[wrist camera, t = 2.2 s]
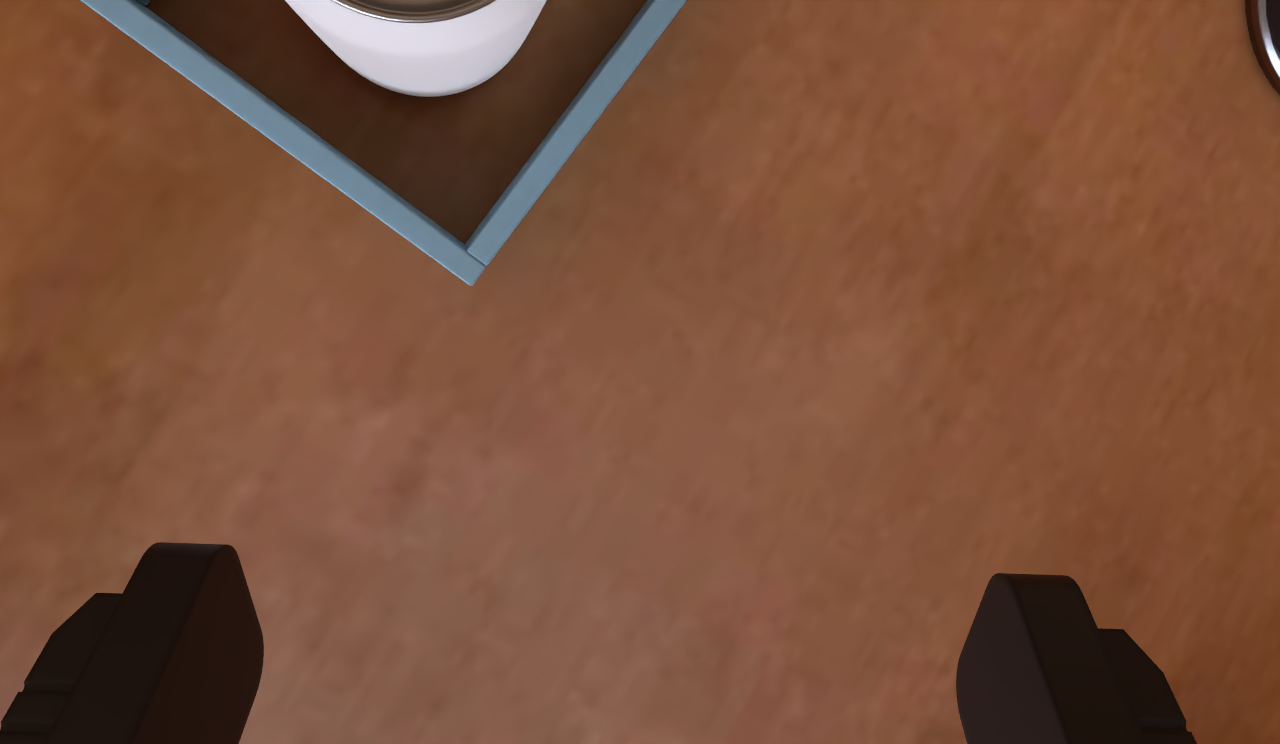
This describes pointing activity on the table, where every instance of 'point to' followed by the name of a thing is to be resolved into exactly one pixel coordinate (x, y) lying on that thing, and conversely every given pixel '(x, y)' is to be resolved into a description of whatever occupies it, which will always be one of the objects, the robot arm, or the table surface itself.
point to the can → (422, 39)
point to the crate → (128, 13)
